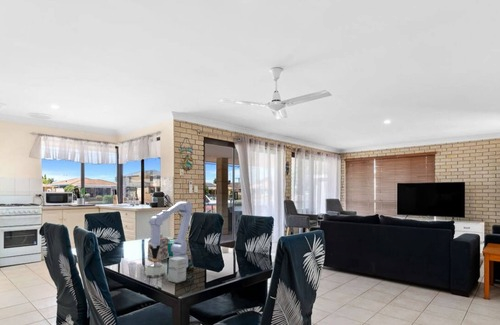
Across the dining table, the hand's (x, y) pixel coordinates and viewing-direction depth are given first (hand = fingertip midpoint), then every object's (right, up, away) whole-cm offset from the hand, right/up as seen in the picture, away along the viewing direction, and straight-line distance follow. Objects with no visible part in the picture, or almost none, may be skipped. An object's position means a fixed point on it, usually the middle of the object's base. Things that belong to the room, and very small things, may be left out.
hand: (154, 258), depth 193 cm
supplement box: (+17, -9, -14) cm, 24 cm away
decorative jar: (-10, -14, +41) cm, 45 cm away
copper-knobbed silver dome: (0, -5, 0) cm, 5 cm away
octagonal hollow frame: (0, -10, -1) cm, 10 cm away
